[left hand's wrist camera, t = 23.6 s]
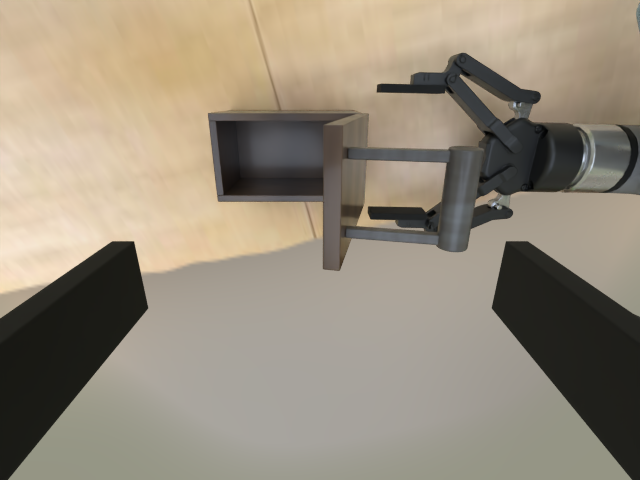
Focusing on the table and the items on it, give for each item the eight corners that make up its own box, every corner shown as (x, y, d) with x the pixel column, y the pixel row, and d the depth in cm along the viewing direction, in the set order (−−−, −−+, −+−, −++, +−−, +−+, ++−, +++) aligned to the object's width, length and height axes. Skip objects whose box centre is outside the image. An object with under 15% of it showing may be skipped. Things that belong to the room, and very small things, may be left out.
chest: (236, 182, 48) (217, 201, 39) (230, 110, 44) (207, 113, 35) (351, 182, 48) (358, 201, 39) (353, 110, 44) (362, 113, 35)
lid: (322, 269, 23) (470, 284, 21) (323, 124, 20) (498, 127, 18) (353, 203, 38) (442, 208, 36) (357, 113, 35) (455, 114, 33)
